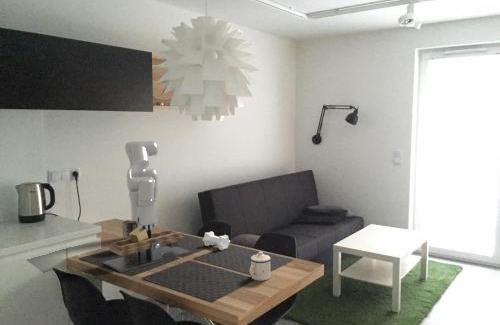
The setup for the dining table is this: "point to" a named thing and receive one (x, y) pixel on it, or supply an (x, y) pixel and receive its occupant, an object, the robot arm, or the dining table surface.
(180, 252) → the stand
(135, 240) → the yellow wooden cube
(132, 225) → the coffee box
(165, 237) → the long wooden tray
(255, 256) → the teacup with lid
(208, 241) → the dog bone
